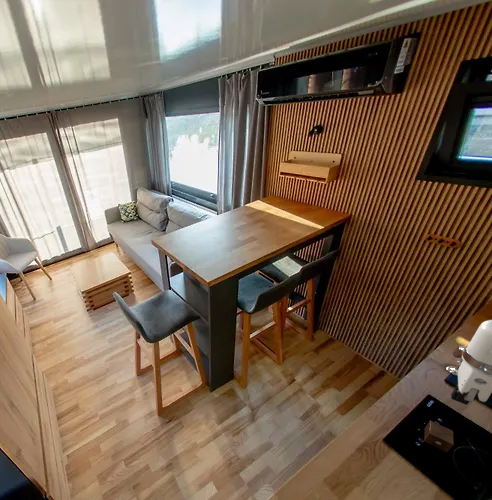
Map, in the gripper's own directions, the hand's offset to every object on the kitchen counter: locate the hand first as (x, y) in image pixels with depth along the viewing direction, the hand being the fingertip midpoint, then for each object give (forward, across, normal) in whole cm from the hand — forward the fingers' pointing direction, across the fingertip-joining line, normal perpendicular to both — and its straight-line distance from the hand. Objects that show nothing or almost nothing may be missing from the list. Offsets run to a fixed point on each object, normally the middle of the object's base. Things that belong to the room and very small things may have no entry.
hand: (458, 399), depth 78 cm
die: (+14, -3, +1) cm, 14 cm away
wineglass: (+17, +31, -4) cm, 35 cm away
